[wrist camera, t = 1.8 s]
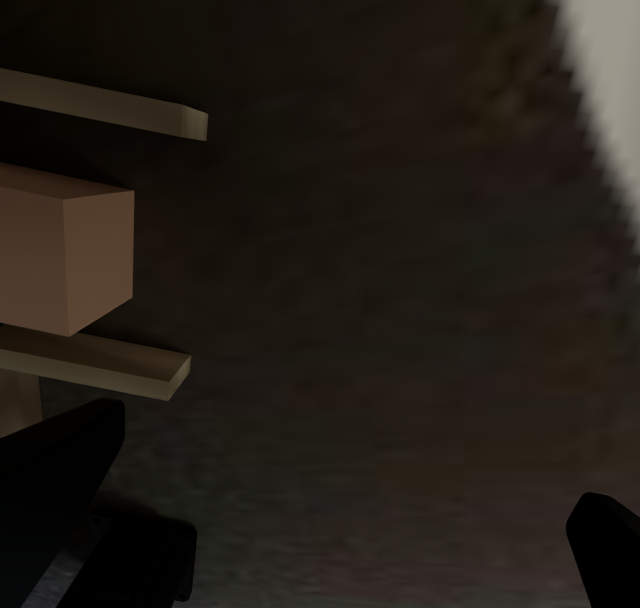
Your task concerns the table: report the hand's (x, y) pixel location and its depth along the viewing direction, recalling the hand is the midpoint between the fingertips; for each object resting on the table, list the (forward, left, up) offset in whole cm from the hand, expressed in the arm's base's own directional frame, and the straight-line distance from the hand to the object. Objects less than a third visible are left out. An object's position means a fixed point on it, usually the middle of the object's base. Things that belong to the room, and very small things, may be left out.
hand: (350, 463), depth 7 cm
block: (0, +13, -11) cm, 17 cm away
